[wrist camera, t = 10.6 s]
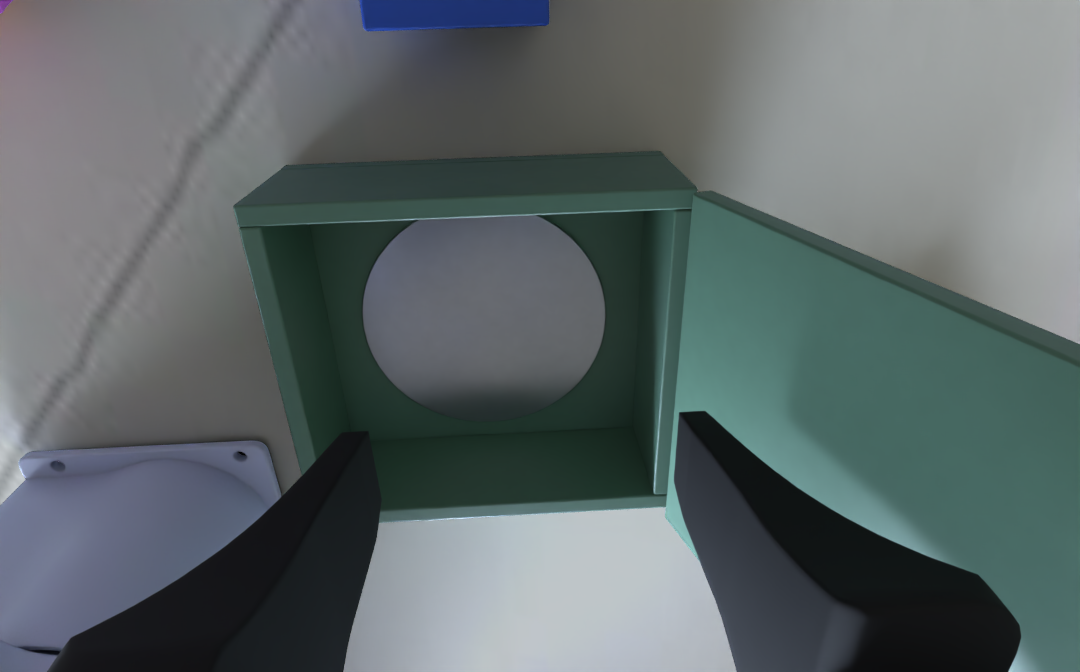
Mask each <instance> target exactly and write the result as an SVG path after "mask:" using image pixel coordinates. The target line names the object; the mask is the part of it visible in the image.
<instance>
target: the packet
mask: <svg viewBox="0 0 1080 672" xmlns="http://www.w3.org/2000/svg"><path fill="white" fill-rule="evenodd" d="M359 1H360V8H361V15H362V22H363V28H364V30H366V31H395V30H427V29H459V28H492V27H524V26H546V25H548V24H549V0H359Z"/></svg>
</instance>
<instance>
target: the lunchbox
mask: <svg viewBox="0 0 1080 672" xmlns="http://www.w3.org/2000/svg"><path fill="white" fill-rule="evenodd" d="M694 193H697V187H696V186H695V185H694V184H693V183H692V182H691V181H690V180H689V179H688V178H687V177H686V176H685V175H684V174H683V173H682V172H681V171H680V170H679V169H678V168H676V167H675V166H674V165H673V164H672V163H671V162H670V161H669V160H668V159H667V158H666V157H665V156H664V154H663V153H662V152H660V151H651V152H624V153H597V154H570V155H544V156H517V157H490V158H463V159H437V160H410V161H383V162H356V163H330V164H303V165H286V166H284V167H283V168H282V169H281V170H279V171H278V172H277V173H275V174H274V175H273V176H272V177H270V178H269V179H268V180H266V181H265V182H264V183H262V184H261V185H260V186H259V187H257V188H256V189H255V190H253V191H252V192H251V193H250V194H248V195H247V196H246V197H244V198H243V199H242V200H240V201H239V202H238V203H237V204H235V205H234V207H233V208H234V212H235V216H236V220H237V224H238V226H239V227H240V228H239V232H240V236H241V240H242V244H243V248H244V251H245V255H246V259H247V263H248V267H249V271H250V275H251V279H252V283H253V287H254V291H255V294H256V298H257V302H258V306H259V310H260V314H261V318H262V322H263V326H264V330H265V334H266V337H267V341H268V345H269V349H270V353H271V357H272V361H273V365H274V369H275V373H276V377H277V380H278V384H279V388H280V392H281V396H282V400H283V404H284V408H285V412H286V416H287V420H288V423H289V427H290V431H291V435H292V439H293V443H294V447H295V451H296V455H297V459H298V463H299V466H300V470H301V474H302V475H303V474H304V473H305V472H306V471H307V470H308V469H309V468H310V467H311V465H312V464H313V463H314V462H315V461H316V460H317V459H318V458H319V457H320V456H321V454H322V453H323V452H324V451H325V450H326V449H327V448H328V447H329V446H330V444H331V443H332V442H333V441H334V440H335V439H336V438H337V437H338V436H339V435H340V434H341V433H342V432H358V431H368V432H369V437H370V442H371V447H372V452H373V457H374V462H375V467H376V472H377V478H378V483H379V488H380V493H381V498H382V502H381V509H380V517H379V523H387V522H405V521H423V520H441V519H459V518H477V517H495V516H513V515H531V514H549V513H567V512H586V511H604V510H622V509H640V508H658V507H666V501H667V489H668V478H669V466H670V455H671V443H672V432H673V420H674V409H675V397H676V386H677V374H678V363H679V351H680V340H681V328H682V317H683V305H684V294H685V282H686V271H687V259H688V248H689V236H690V225H691V213H692V202H693V194H694ZM527 215H540V216H543V217H544V218H546V219H548V220H549V221H551V222H553V223H554V224H556V225H558V226H559V227H560V228H561V229H563V230H564V231H565V232H566V233H568V234H569V235H570V236H571V237H572V238H573V239H574V240H575V241H576V242H577V243H578V244H579V245H580V246H581V248H582V249H583V250H584V252H585V253H586V255H587V256H588V257H589V259H590V260H591V262H592V264H593V266H594V268H595V270H596V272H597V274H598V277H599V280H600V283H601V286H602V289H603V294H604V299H605V309H606V320H605V331H604V335H603V339H602V343H601V346H600V348H599V351H598V353H597V356H596V358H595V360H594V362H593V363H592V365H591V367H590V369H589V370H588V371H587V373H586V374H585V375H584V377H583V378H582V379H581V381H580V382H579V383H578V384H577V385H576V386H575V387H574V388H573V389H572V390H571V391H569V392H568V393H567V394H566V395H564V396H563V397H562V398H561V399H559V400H557V401H556V402H554V403H553V404H551V405H549V406H548V407H546V408H543V409H541V410H539V411H537V412H535V413H532V414H529V415H526V416H523V417H519V418H514V419H510V420H503V421H493V422H478V421H469V420H462V419H457V418H453V417H449V416H446V415H443V414H440V413H437V412H434V411H432V410H430V409H428V408H426V407H424V406H422V405H420V404H419V403H417V402H415V401H414V400H412V399H410V398H409V397H408V396H407V395H405V394H404V393H403V392H401V391H400V390H399V389H398V388H397V387H396V386H395V385H394V384H393V383H392V382H391V381H390V380H389V379H388V378H387V376H386V375H385V374H384V372H383V371H382V370H381V369H380V367H379V365H378V364H377V362H376V360H375V358H374V357H373V355H372V353H371V350H370V348H369V345H368V343H367V339H366V335H365V331H364V327H363V317H362V307H363V296H364V291H365V286H366V282H367V280H368V277H369V274H370V272H371V269H372V267H373V265H374V264H375V262H376V260H377V258H378V256H379V255H380V253H381V252H382V251H383V249H384V248H385V247H386V245H387V244H388V243H389V242H390V241H391V240H392V239H393V238H394V237H395V236H396V235H397V234H398V233H399V232H400V231H401V230H403V229H404V228H405V227H407V226H408V225H409V224H411V223H412V222H414V221H416V220H428V219H452V218H477V217H502V216H527Z"/></svg>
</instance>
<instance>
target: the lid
mask: <svg viewBox="0 0 1080 672" xmlns="http://www.w3.org/2000/svg"><path fill="white" fill-rule="evenodd" d="M690 411H706V412H707V413H708V414H710V415H711V416H712V417H713V418H714V419H715V420H716V421H717V422H718V423H720V424H721V425H722V426H723V427H724V428H725V429H726V430H727V431H728V432H729V433H731V434H732V435H733V436H734V437H735V438H736V439H737V440H738V441H740V442H741V443H742V444H743V445H744V446H745V447H746V448H748V449H749V450H750V451H751V452H752V453H753V454H755V455H756V456H757V457H758V458H759V459H761V460H762V461H763V462H764V463H766V464H767V465H768V466H769V467H771V468H772V469H773V470H775V471H776V472H777V473H779V474H780V475H781V476H783V477H784V478H785V479H787V480H788V481H789V482H791V483H792V484H793V485H795V486H796V487H798V488H799V489H801V490H802V491H803V492H805V493H806V494H808V495H809V496H811V497H813V498H814V499H816V500H817V501H819V502H821V503H822V504H824V505H825V506H827V507H829V508H830V509H832V510H834V511H835V512H837V513H839V514H840V515H842V516H844V517H846V518H848V519H849V520H851V521H853V522H855V523H857V524H859V525H861V526H863V527H865V528H867V529H868V530H870V531H872V532H874V533H876V534H878V535H881V536H883V537H885V538H887V539H889V540H891V541H893V542H896V543H898V544H900V545H902V546H905V547H907V548H909V549H912V550H914V551H916V552H919V553H921V554H923V555H926V556H928V557H931V558H934V559H937V560H939V561H942V562H945V563H948V564H951V565H953V566H956V567H959V568H962V569H964V570H967V571H970V572H973V573H975V574H978V575H979V576H980V577H981V578H982V579H983V580H984V581H985V582H986V583H987V585H988V586H989V587H990V588H991V589H992V590H993V591H994V593H995V594H996V595H997V596H998V597H999V599H1000V600H1001V601H1002V602H1003V604H1004V605H1005V606H1006V607H1007V608H1008V610H1009V611H1010V612H1011V613H1012V615H1013V616H1014V618H1015V619H1016V620H1017V622H1018V623H1019V625H1020V631H1021V640H1020V644H1019V647H1018V651H1017V654H1016V656H1015V659H1014V661H1013V663H1012V665H1011V667H1010V669H1009V671H1008V672H1080V344H1078V343H1075V342H1073V341H1071V340H1068V339H1066V338H1063V337H1061V336H1059V335H1056V334H1054V333H1051V332H1049V331H1047V330H1044V329H1042V328H1039V327H1037V326H1035V325H1032V324H1030V323H1027V322H1025V321H1023V320H1020V319H1018V318H1015V317H1013V316H1011V315H1008V314H1006V313H1003V312H1001V311H999V310H996V309H994V308H991V307H989V306H987V305H984V304H982V303H980V302H977V301H975V300H972V299H970V298H968V297H965V296H963V295H960V294H958V293H956V292H953V291H951V290H948V289H946V288H944V287H941V286H939V285H936V284H934V283H932V282H929V281H927V280H924V279H922V278H920V277H917V276H915V275H912V274H910V273H908V272H905V271H903V270H900V269H898V268H896V267H893V266H891V265H888V264H886V263H884V262H881V261H879V260H876V259H874V258H872V257H869V256H867V255H864V254H862V253H860V252H857V251H855V250H853V249H850V248H848V247H845V246H843V245H841V244H838V243H836V242H833V241H831V240H829V239H826V238H824V237H821V236H819V235H817V234H814V233H812V232H809V231H807V230H805V229H802V228H800V227H797V226H795V225H793V224H790V223H788V222H785V221H783V220H781V219H778V218H776V217H773V216H771V215H769V214H766V213H764V212H761V211H759V210H757V209H754V208H752V207H749V206H747V205H745V204H742V203H740V202H738V201H735V200H733V199H730V198H728V197H726V196H723V195H721V194H718V193H716V192H714V191H705V192H697V193H694V194H693V202H692V213H691V225H690V236H689V248H688V259H687V271H686V282H685V294H684V305H683V317H682V328H681V340H680V351H679V363H678V374H677V386H676V397H675V409H674V420H673V432H672V443H671V455H670V466H669V478H668V489H667V501H666V512H665V517H666V519H667V520H668V522H669V523H670V524H671V525H672V527H673V528H674V529H675V531H676V532H677V533H678V534H679V536H680V537H681V538H682V540H683V541H684V542H685V543H686V545H687V546H688V547H689V548H690V550H691V551H692V552H693V554H694V555H695V556H696V557H697V559H698V560H699V558H698V555H697V553H696V550H695V548H694V545H693V543H692V540H691V538H690V535H689V533H688V530H687V528H686V525H685V522H684V520H683V516H682V512H681V509H680V505H679V501H678V497H677V493H676V488H675V484H674V470H675V458H676V445H677V432H678V420H679V412H690ZM699 561H700V560H699Z"/></svg>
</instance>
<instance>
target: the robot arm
mask: <svg viewBox="0 0 1080 672" xmlns="http://www.w3.org/2000/svg"><path fill="white" fill-rule="evenodd" d="M238 451H240V452H243V453H245V454H246V456H243V455H240V454H239V453H238ZM58 461H60V462H62V463H63V464H64V465H63V464H61V463H59V462H58ZM18 464H19V468H20V470H21V472H22V474H23V476H24V477H25V479H26V480H25V481H24V482H23V483H22V484H21V485H20V486H19V487H18V488H17V489H16V490H15V491H14V492H13V493H12V494H11V495H10V496H9V497H8V498H7V499H6V500H5V501H4V502H3V503H2V504H1V505H0V672H343V670H344V664H345V658H346V652H347V646H348V642H349V638H350V633H351V629H352V625H353V622H354V618H355V614H356V611H357V607H358V604H359V600H360V597H361V593H362V589H363V586H364V582H365V579H366V575H367V572H368V568H369V564H370V561H371V557H372V553H373V550H374V546H375V542H376V538H377V531H378V524H379V517H380V509H381V502H382V498H381V493H380V488H379V483H378V478H377V472H376V467H375V462H374V457H373V452H372V447H371V442H370V437H369V432H368V431H358V432H342V433H341V434H340V435H339V436H338V437H337V438H336V439H335V440H334V441H333V442H332V443H331V444H330V446H329V447H328V448H327V449H326V450H325V451H324V452H323V453H322V454H321V456H320V457H319V458H318V459H317V460H316V461H315V462H314V463H313V464H312V465H311V467H310V468H309V469H308V470H307V471H306V472H305V473H304V474H303V475H302V476H301V477H300V478H299V479H298V480H297V482H296V483H295V484H294V485H293V486H292V487H291V488H290V489H289V490H288V491H287V492H286V493H285V494H284V495H283V496H281V492H280V489H279V485H278V481H277V478H276V474H275V471H274V467H273V464H272V460H271V456H270V453H269V450H268V448H267V446H266V445H265V444H264V443H262V442H259V441H254V440H252V441H232V442H212V443H193V444H173V445H154V446H134V447H114V448H95V449H75V450H55V451H36V452H29V453H27V454H25V455H24V456H23V457H22V458H21V459H20V460H19V463H18ZM674 484H675V488H676V493H677V497H678V501H679V505H680V509H681V512H682V516H683V520H684V522H685V525H686V528H687V530H688V533H689V535H690V538H691V540H692V543H693V545H694V548H695V550H696V553H697V555H698V558H699V560H700V563H701V565H702V568H703V570H704V573H705V575H706V578H707V580H708V583H709V585H710V588H711V590H712V593H713V595H714V598H715V600H716V603H717V606H718V609H719V612H720V615H721V617H722V620H723V624H724V627H725V631H726V634H727V638H728V641H729V645H730V648H731V652H732V656H733V659H734V663H735V666H736V670H737V672H1008V671H1009V669H1010V667H1011V665H1012V663H1013V661H1014V659H1015V656H1016V654H1017V651H1018V647H1019V644H1020V640H1021V631H1020V625H1019V623H1018V622H1017V620H1016V619H1015V618H1014V616H1013V615H1012V613H1011V612H1010V611H1009V610H1008V608H1007V607H1006V606H1005V605H1004V604H1003V602H1002V601H1001V600H1000V599H999V597H998V596H997V595H996V594H995V593H994V591H993V590H992V589H991V588H990V587H989V586H988V585H987V583H986V582H985V581H984V580H983V579H982V578H981V577H980V576H979V575H978V574H975V573H973V572H970V571H967V570H964V569H962V568H959V567H956V566H953V565H951V564H948V563H945V562H942V561H939V560H937V559H934V558H931V557H928V556H926V555H923V554H921V553H919V552H916V551H914V550H912V549H909V548H907V547H905V546H902V545H900V544H898V543H896V542H893V541H891V540H889V539H887V538H885V537H883V536H881V535H878V534H876V533H874V532H872V531H870V530H868V529H867V528H865V527H863V526H861V525H859V524H857V523H855V522H853V521H851V520H849V519H848V518H846V517H844V516H842V515H840V514H839V513H837V512H835V511H834V510H832V509H830V508H829V507H827V506H825V505H824V504H822V503H821V502H819V501H817V500H816V499H814V498H813V497H811V496H809V495H808V494H806V493H805V492H803V491H802V490H801V489H799V488H798V487H796V486H795V485H793V484H792V483H791V482H789V481H788V480H787V479H785V478H784V477H783V476H781V475H780V474H779V473H777V472H776V471H775V470H773V469H772V468H771V467H769V466H768V465H767V464H766V463H764V462H763V461H762V460H761V459H759V458H758V457H757V456H756V455H755V454H753V453H752V452H751V451H750V450H749V449H748V448H746V447H745V446H744V445H743V444H742V443H741V442H740V441H738V440H737V439H736V438H735V437H734V436H733V435H732V434H731V433H729V432H728V431H727V430H726V429H725V428H724V427H723V426H722V425H721V424H720V423H718V422H717V421H716V420H715V419H714V418H713V417H712V416H711V415H710V414H708V413H707V412H706V411H690V412H679V420H678V432H677V445H676V458H675V470H674Z"/></svg>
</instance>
